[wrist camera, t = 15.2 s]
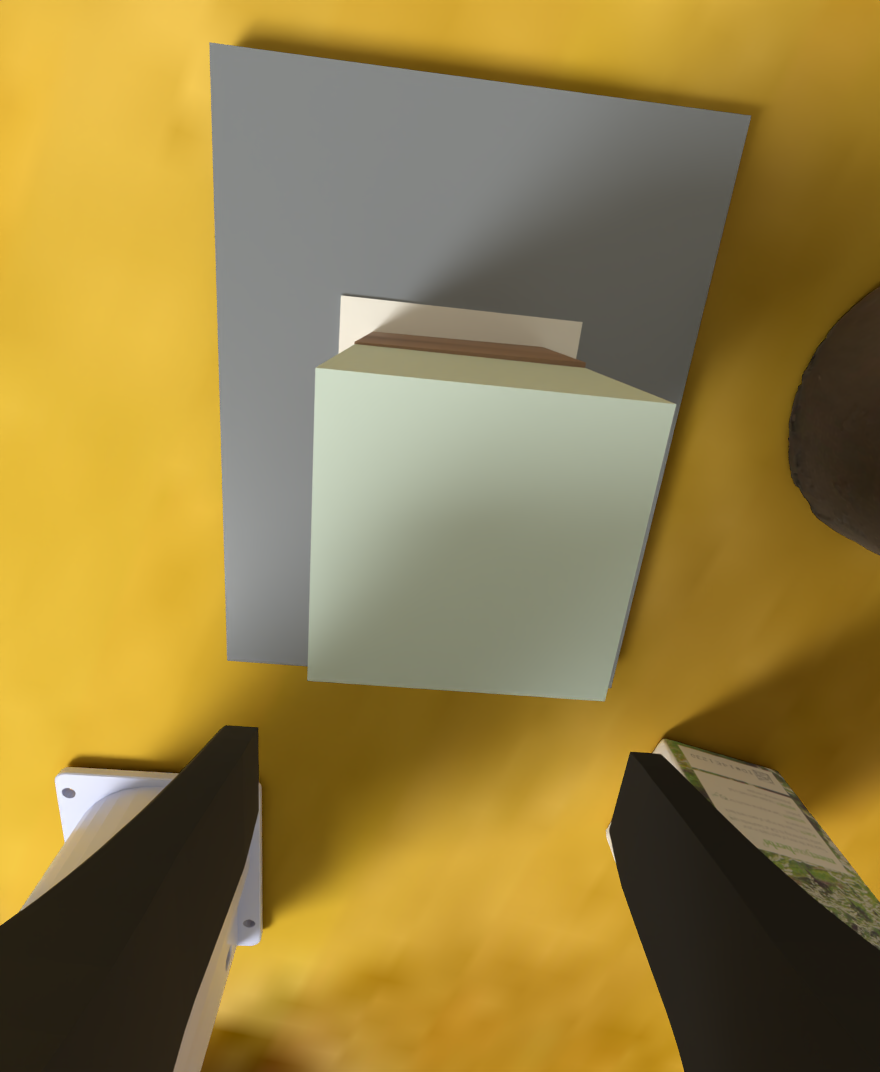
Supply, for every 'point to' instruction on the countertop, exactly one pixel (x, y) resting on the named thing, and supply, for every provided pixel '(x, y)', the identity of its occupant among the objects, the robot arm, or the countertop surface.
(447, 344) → the walnut block
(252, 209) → the base plate
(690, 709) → the countertop surface
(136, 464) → the countertop surface
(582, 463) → the sage block
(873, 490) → the pillar candle
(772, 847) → the syrup box
